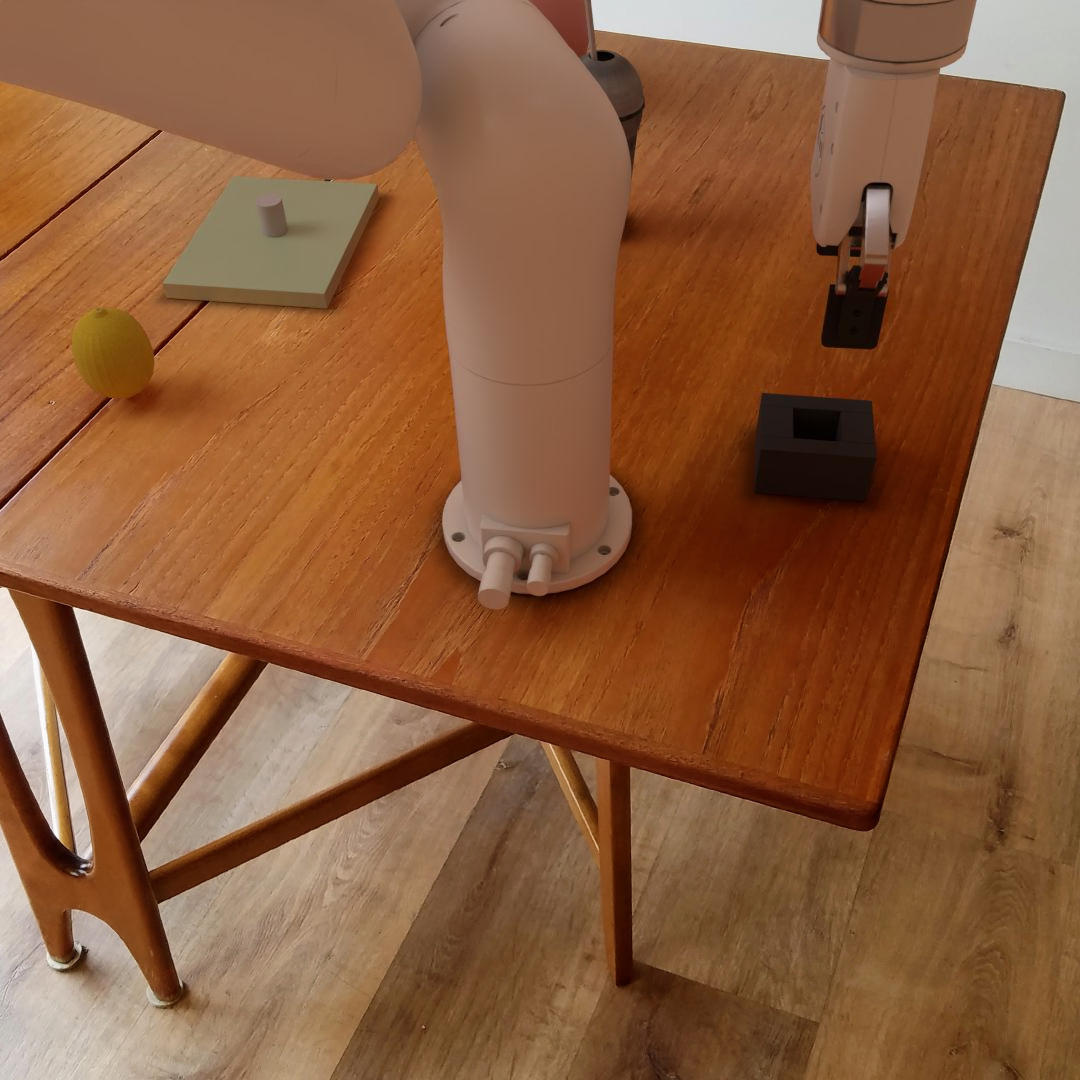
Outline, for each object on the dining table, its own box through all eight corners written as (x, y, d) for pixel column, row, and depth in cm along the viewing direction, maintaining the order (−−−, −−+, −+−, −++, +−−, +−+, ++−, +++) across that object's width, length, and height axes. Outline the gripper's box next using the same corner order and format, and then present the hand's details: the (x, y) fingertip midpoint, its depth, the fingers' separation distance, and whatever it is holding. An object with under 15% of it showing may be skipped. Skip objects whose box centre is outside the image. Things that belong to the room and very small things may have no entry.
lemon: (104, 429, 85) (70, 341, 79) (82, 390, 89) (48, 302, 83) (176, 403, 87) (147, 315, 81) (152, 366, 91) (123, 278, 85)
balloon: (377, 110, 120) (357, -46, 109) (532, 58, 128) (528, -92, 117) (458, 167, 111) (445, 3, 100) (619, 107, 119) (623, -51, 108)
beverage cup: (633, 252, 100) (642, 18, 86) (551, 245, 101) (547, 12, 87) (645, 210, 105) (655, -19, 91) (566, 203, 106) (564, -24, 92)
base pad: (327, 309, 95) (318, 261, 92) (166, 298, 97) (152, 251, 94) (379, 198, 108) (373, 153, 104) (236, 190, 109) (225, 145, 106)
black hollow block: (865, 502, 78) (876, 458, 75) (754, 493, 79) (760, 449, 76) (861, 444, 82) (872, 400, 79) (755, 436, 83) (761, 392, 80)
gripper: (815, -50, 65) (781, 221, 77) (826, 88, 53) (783, 382, 65) (953, -49, 64) (896, 225, 76) (995, 92, 52) (919, 389, 65)
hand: (844, 297), depth 71 cm, fingers open, 9 cm apart
